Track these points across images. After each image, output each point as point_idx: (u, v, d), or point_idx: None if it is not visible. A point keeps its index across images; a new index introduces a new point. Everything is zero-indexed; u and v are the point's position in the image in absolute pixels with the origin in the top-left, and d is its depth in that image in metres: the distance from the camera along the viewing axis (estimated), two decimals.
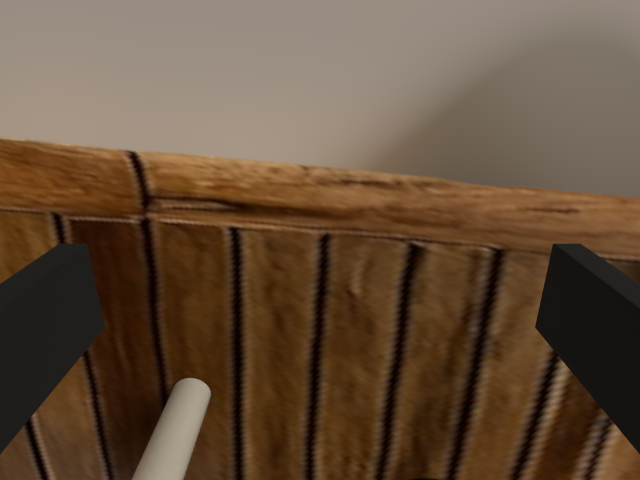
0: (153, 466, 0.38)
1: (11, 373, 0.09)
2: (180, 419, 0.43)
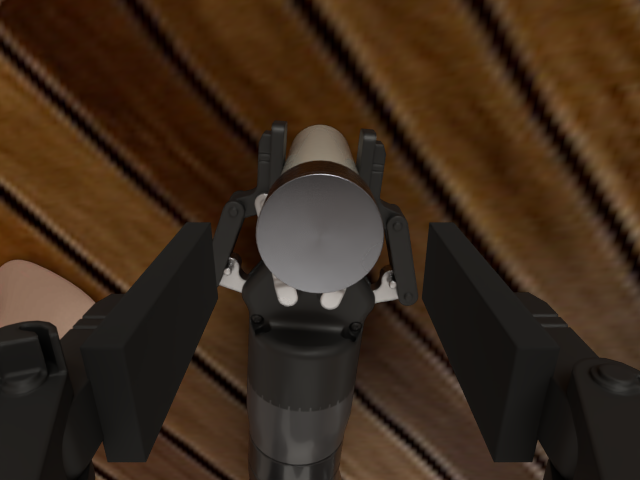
0: (289, 167, 0.20)
1: (181, 326, 0.11)
2: (305, 140, 0.25)
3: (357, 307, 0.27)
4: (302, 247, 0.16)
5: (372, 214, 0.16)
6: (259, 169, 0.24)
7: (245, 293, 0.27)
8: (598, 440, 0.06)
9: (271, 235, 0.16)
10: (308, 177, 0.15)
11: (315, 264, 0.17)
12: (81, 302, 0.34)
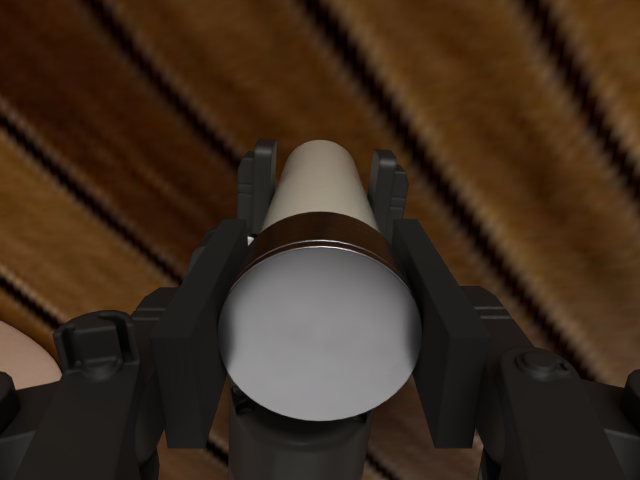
0: (275, 213, 0.13)
1: None
2: (301, 165, 0.18)
3: None
4: (292, 357, 0.10)
5: (405, 308, 0.10)
6: (239, 204, 0.18)
7: None
8: (521, 427, 0.06)
9: (241, 339, 0.10)
10: (300, 251, 0.09)
11: (312, 381, 0.10)
12: (30, 353, 0.28)
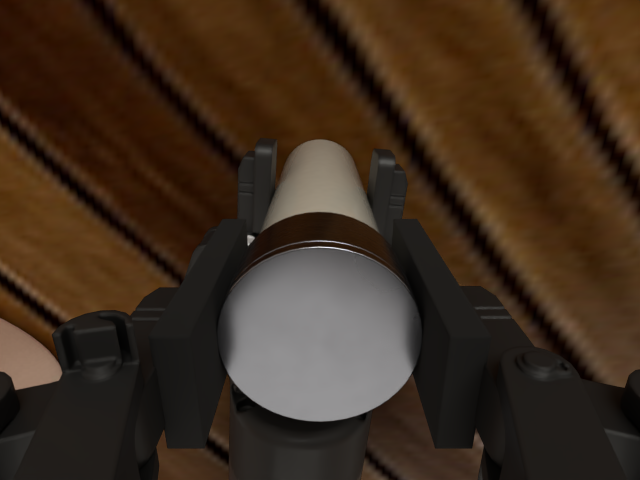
0: (276, 212, 0.14)
1: None
2: (301, 165, 0.19)
3: None
4: (330, 367, 0.10)
5: (299, 260, 0.09)
6: (239, 203, 0.18)
7: None
8: (521, 427, 0.06)
9: (300, 402, 0.11)
10: (220, 337, 0.10)
11: (364, 357, 0.10)
12: (31, 351, 0.28)
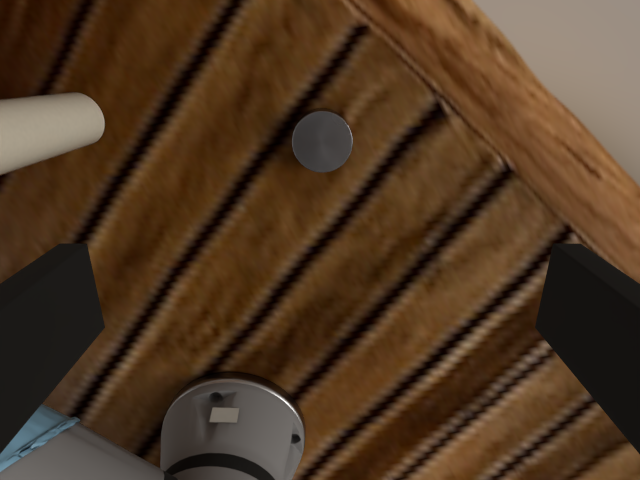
0: None
1: (11, 373, 0.09)
2: (55, 111, 0.30)
3: None
4: (325, 151, 0.34)
5: (316, 115, 0.33)
6: None
7: None
8: None
9: (316, 164, 0.35)
10: (293, 141, 0.34)
11: (335, 148, 0.34)
12: None
